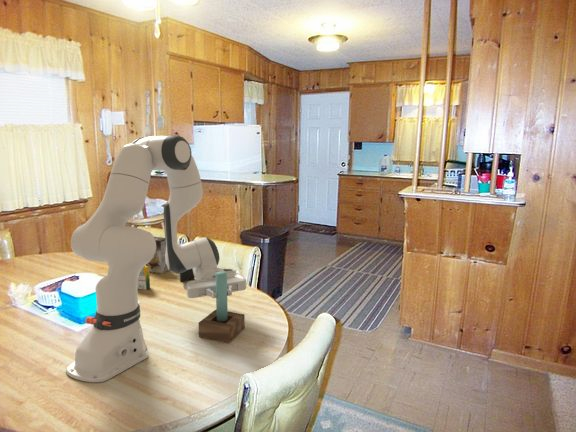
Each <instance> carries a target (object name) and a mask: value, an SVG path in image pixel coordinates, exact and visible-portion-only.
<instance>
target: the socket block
mask: <svg viewBox="0 0 576 432" xmlns="http://www.w3.org/2000/svg"><path fill="white" fill-rule="evenodd" d="M245 321H246V320H245V314H244V313H240V312H233V311H228V320H226V321H224V322H220V321H217V310H216V309H214V310H213V311H212V312H211V313H209V314H208V315H207V316H205V317H204V318H203V319H201V320H200V321H198V337H199V338H201V339H202V338H203V339H206V340H207V339H208V340H212V341H217V342H221V343H227V344H230V343H231V342H232V341H233V340H234V339H235V338H236V337H237V336H238V335H239V334H240V333H241V332H242V331H243V330H244V329H245V325H246V324H245Z"/></svg>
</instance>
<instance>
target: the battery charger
mask: <svg viewBox="0 0 576 432" xmlns="http://www.w3.org/2000/svg"><path fill="white" fill-rule="evenodd" d="M178 277H179V281H180V282H185V281H187V282H188V281H193V280H196V279H195V277H194V274H193V268H192V269H189V270H187V271H185V272H182V273H180V274H178Z"/></svg>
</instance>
